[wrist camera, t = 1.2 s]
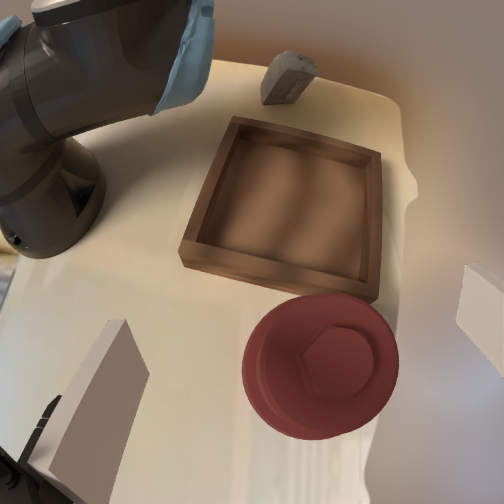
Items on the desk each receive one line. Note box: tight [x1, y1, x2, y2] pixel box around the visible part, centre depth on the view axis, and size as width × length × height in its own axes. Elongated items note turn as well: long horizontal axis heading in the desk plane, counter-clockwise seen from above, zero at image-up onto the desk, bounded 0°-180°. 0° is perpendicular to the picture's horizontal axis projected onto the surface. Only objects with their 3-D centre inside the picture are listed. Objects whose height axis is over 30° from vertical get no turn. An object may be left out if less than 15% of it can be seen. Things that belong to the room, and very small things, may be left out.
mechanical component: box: [242, 293, 399, 440], centre depth 20 cm, size 12×10×10 cm
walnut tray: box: [178, 116, 382, 305], centre depth 31 cm, size 18×18×4 cm
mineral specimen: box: [261, 51, 318, 105], centre depth 38 cm, size 7×9×8 cm
